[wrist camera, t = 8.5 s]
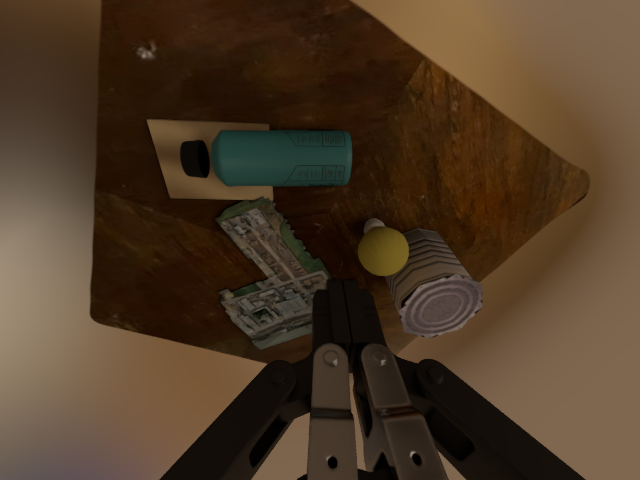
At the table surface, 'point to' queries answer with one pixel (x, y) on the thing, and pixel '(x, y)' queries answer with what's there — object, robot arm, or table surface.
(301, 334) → the model
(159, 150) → the mat
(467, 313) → the can
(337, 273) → the table surface
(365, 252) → the light bulb
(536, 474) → the robot arm
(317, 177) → the beverage bottle
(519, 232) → the table surface
